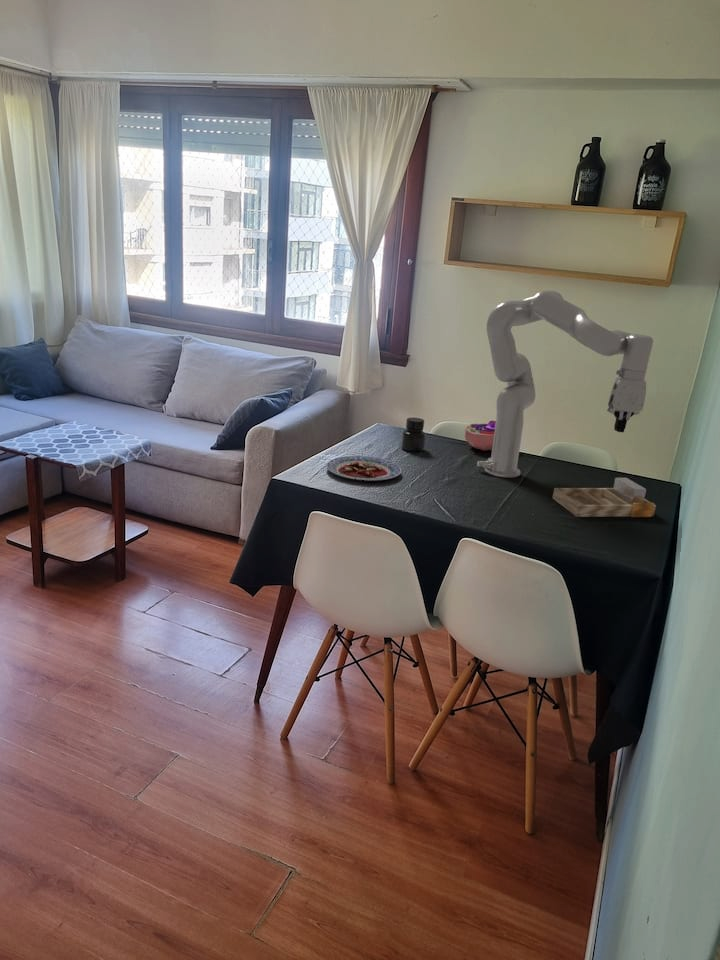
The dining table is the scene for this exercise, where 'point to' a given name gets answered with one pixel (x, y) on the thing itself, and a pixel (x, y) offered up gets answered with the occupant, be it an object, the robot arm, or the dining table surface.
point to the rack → (600, 503)
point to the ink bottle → (414, 435)
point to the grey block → (628, 491)
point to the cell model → (481, 435)
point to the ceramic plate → (363, 468)
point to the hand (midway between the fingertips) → (618, 431)
